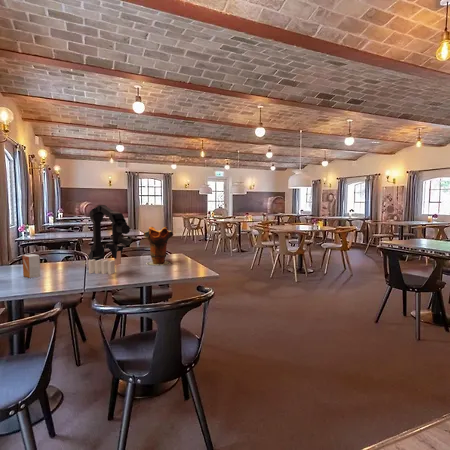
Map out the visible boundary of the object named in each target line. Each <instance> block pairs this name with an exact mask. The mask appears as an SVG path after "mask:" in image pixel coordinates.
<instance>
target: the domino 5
mask: <svg viewBox="0 0 450 450" xmlns="http://www.w3.org/2000/svg"><path fill="white" fill-rule="evenodd" d="M113 258H114V257H113ZM113 260H115V266H118V265H121V264H122V254H121V251H117V258H116V259H115V258H114V259H113Z"/></svg>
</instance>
